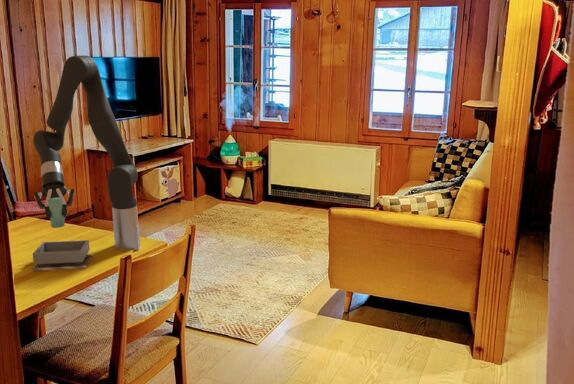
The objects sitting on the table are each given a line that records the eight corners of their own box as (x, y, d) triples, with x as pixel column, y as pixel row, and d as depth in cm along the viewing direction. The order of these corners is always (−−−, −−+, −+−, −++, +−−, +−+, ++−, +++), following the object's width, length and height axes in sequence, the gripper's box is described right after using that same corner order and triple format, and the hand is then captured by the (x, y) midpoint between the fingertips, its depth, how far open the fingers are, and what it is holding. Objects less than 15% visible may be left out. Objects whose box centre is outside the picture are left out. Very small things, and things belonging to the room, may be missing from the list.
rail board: (93, 258, 195) (92, 253, 194) (86, 270, 183) (86, 266, 183) (41, 260, 192) (41, 256, 191) (31, 273, 180) (31, 268, 180)
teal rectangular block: (66, 223, 190) (63, 197, 188) (62, 227, 186) (59, 200, 183) (53, 224, 189) (50, 197, 187) (49, 228, 185) (46, 200, 183)
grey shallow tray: (90, 255, 194) (88, 240, 193) (83, 268, 183) (81, 251, 181) (44, 258, 192) (42, 241, 190) (34, 270, 180) (32, 253, 179)
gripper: (30, 172, 187) (33, 213, 179) (73, 169, 192) (78, 208, 185) (32, 183, 193) (35, 224, 185) (73, 180, 198) (78, 219, 191)
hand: (56, 216), depth 185 cm, fingers closed on teal rectangular block, 4 cm apart
